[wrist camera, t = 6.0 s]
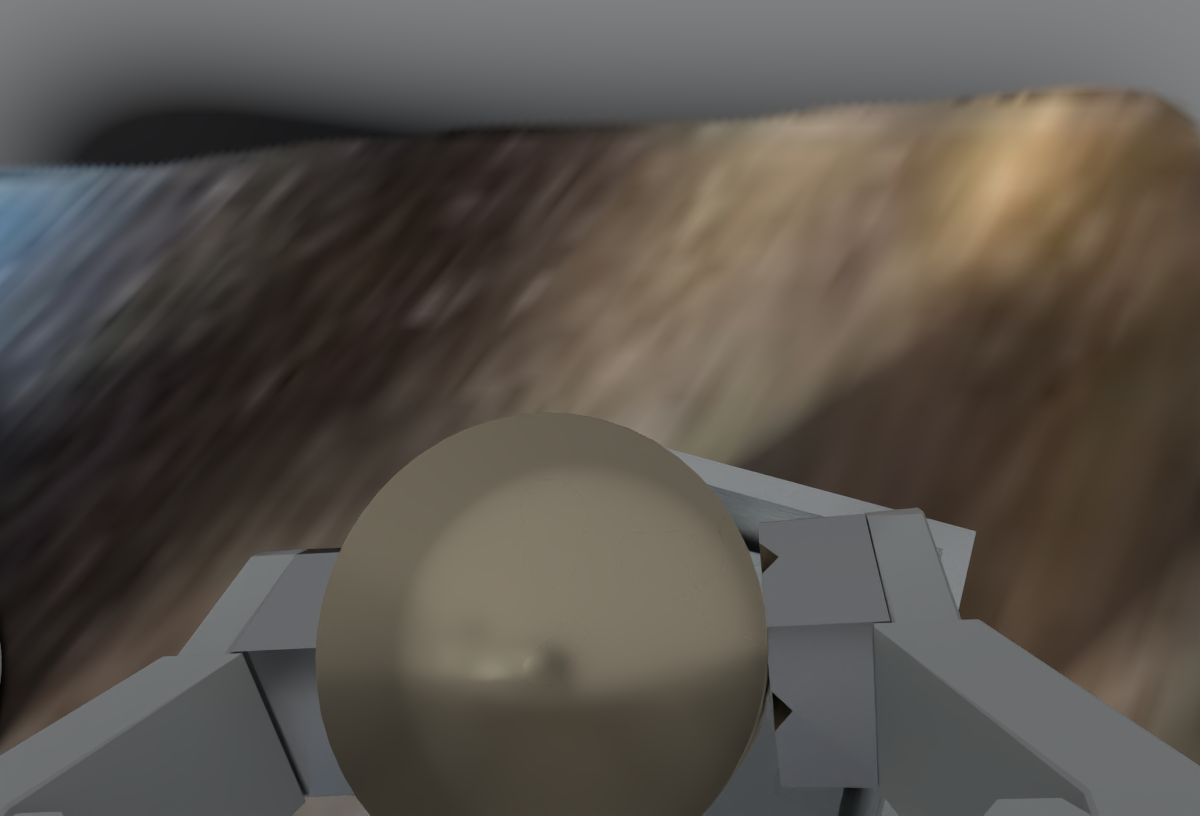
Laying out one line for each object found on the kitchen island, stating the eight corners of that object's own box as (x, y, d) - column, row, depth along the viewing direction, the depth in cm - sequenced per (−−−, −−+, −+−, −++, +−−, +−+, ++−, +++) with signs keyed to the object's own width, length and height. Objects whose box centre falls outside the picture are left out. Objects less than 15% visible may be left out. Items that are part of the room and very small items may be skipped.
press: (579, 773, 36) (432, 824, 21) (654, 530, 39) (568, 422, 24) (919, 901, 33) (1027, 1068, 18) (978, 625, 35) (1119, 569, 20)
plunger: (560, 772, 28) (-95, 974, 7) (638, 522, 30) (292, 113, 9) (821, 870, 26) (951, 1555, 5) (887, 596, 28) (1184, 280, 7)
